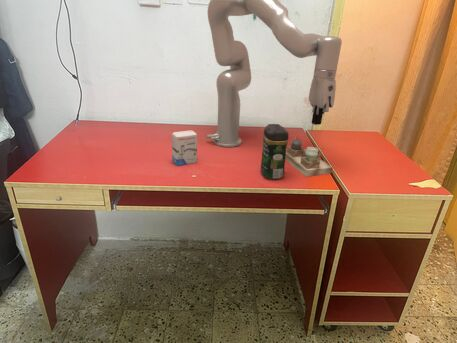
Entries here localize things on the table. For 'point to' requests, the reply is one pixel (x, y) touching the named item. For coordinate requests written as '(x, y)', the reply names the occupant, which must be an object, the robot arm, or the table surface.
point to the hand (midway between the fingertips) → (316, 123)
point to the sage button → (311, 155)
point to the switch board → (307, 163)
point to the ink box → (184, 147)
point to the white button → (312, 148)
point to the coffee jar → (274, 151)
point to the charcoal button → (296, 144)
